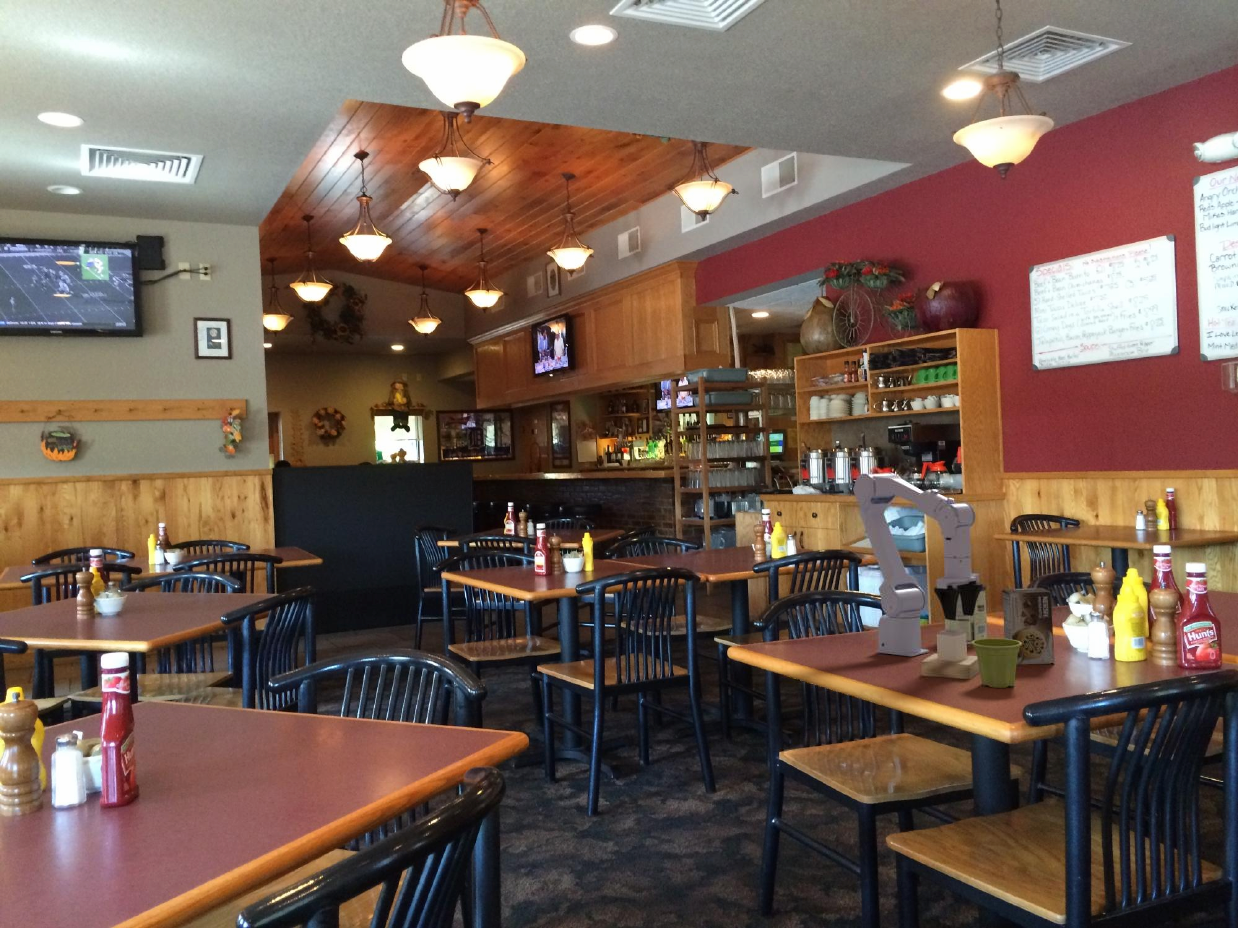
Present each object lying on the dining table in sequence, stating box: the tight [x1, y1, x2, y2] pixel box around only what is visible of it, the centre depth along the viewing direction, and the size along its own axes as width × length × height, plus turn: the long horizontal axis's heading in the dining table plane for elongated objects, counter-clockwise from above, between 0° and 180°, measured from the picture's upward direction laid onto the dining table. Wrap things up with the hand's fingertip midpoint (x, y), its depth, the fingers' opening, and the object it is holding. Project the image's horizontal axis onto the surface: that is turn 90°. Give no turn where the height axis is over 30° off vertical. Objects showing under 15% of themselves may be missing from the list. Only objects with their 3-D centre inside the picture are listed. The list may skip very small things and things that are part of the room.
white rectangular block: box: [936, 629, 968, 662], centre depth 214 cm, size 4×4×6 cm
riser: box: [920, 652, 980, 680], centre depth 214 cm, size 10×10×3 cm
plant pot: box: [971, 637, 1022, 689], centre depth 201 cm, size 9×9×9 cm
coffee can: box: [944, 584, 989, 645], centre depth 251 cm, size 10×10×14 cm
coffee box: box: [1001, 587, 1056, 666], centre depth 223 cm, size 9×6×16 cm
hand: (959, 617), depth 223 cm, fingers open, 7 cm apart
